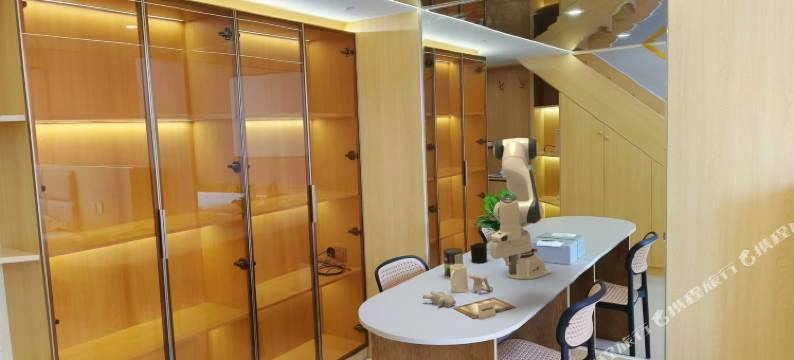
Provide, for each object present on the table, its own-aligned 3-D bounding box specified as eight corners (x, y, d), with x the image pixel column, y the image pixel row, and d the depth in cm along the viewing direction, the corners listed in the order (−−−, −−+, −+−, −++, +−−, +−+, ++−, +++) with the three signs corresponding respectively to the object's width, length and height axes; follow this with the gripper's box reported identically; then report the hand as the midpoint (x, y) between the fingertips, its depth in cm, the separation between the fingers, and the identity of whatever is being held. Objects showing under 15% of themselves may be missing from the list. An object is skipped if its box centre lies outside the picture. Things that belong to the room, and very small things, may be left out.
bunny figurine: (446, 301, 239) (420, 292, 249) (446, 312, 240) (420, 302, 250) (459, 295, 246) (433, 286, 256) (459, 306, 247) (433, 296, 257)
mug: (457, 295, 258) (455, 271, 257) (443, 292, 264) (441, 268, 262) (472, 288, 266) (470, 264, 265) (458, 286, 272) (456, 262, 271)
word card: (494, 314, 230) (493, 300, 229) (495, 314, 229) (494, 301, 229) (478, 318, 227) (478, 304, 226) (479, 319, 226) (478, 305, 225)
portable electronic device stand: (493, 291, 261) (492, 274, 260) (482, 295, 256) (481, 278, 255) (478, 287, 267) (477, 271, 266) (468, 292, 262) (467, 275, 261)
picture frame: (494, 298, 250) (494, 295, 250) (516, 307, 236) (516, 304, 236) (453, 308, 241) (453, 305, 241) (474, 319, 226) (473, 316, 226)
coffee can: (446, 279, 285) (444, 253, 283) (443, 274, 295) (442, 248, 293) (465, 277, 285) (464, 251, 283) (462, 272, 295) (460, 247, 294)
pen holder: (489, 263, 310) (488, 246, 309) (472, 264, 310) (471, 247, 309) (486, 259, 319) (485, 242, 318) (470, 260, 319) (469, 243, 318)
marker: (513, 272, 243) (512, 246, 241) (518, 273, 240) (517, 248, 238) (507, 273, 241) (505, 248, 240) (512, 275, 238) (510, 249, 237)
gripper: (524, 229, 246) (526, 258, 247) (487, 236, 237) (489, 267, 238) (534, 231, 240) (535, 261, 241) (496, 239, 231) (498, 270, 233)
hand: (512, 264), depth 240 cm, fingers closed on marker, 3 cm apart
